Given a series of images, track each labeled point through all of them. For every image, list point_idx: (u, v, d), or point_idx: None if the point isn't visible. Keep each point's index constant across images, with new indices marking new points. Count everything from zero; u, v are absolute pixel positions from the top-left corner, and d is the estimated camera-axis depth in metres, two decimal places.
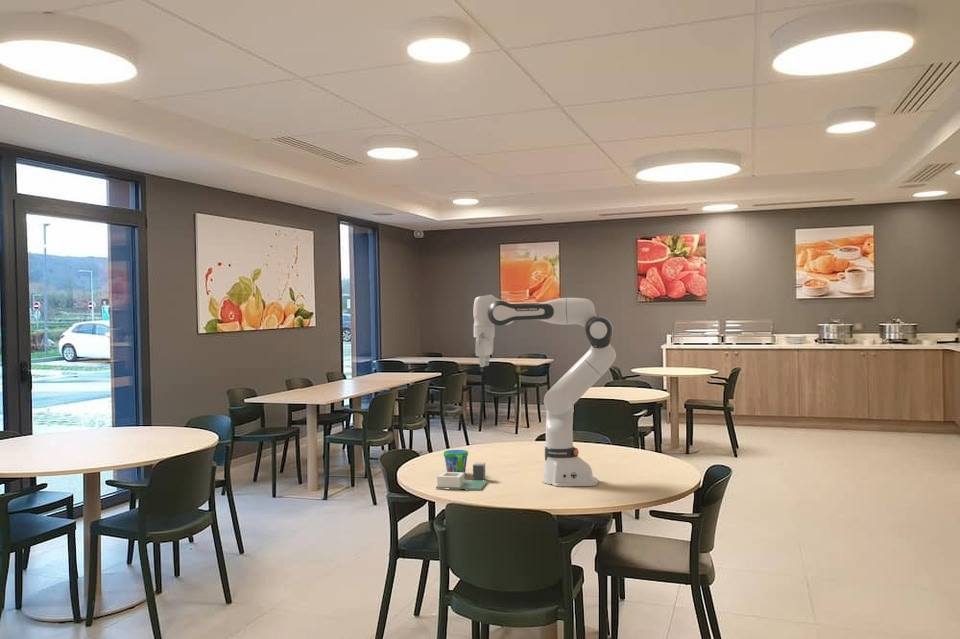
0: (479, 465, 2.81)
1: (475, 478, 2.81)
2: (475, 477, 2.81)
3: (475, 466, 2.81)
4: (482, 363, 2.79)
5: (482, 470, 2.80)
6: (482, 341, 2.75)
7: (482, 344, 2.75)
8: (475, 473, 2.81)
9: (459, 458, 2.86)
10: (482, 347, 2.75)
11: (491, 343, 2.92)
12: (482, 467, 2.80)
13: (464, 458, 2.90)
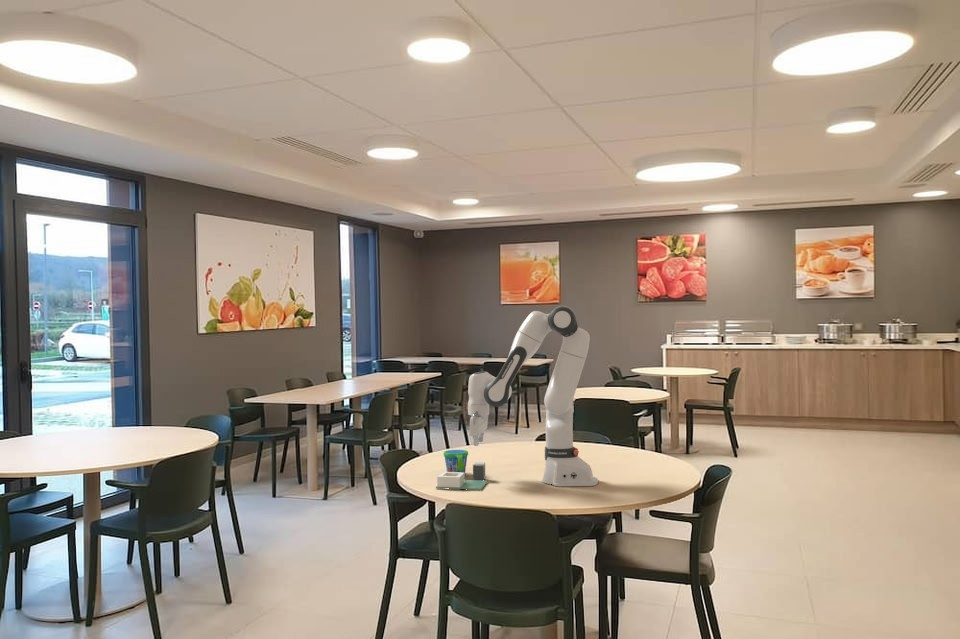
0: (479, 465, 2.81)
1: (475, 478, 2.81)
2: (475, 477, 2.81)
3: (475, 466, 2.81)
4: (476, 442, 2.77)
5: (482, 470, 2.80)
6: (476, 421, 2.74)
7: (476, 424, 2.73)
8: (475, 473, 2.81)
9: (459, 458, 2.86)
10: (476, 427, 2.73)
11: (486, 419, 2.90)
12: (482, 467, 2.80)
13: (464, 458, 2.90)
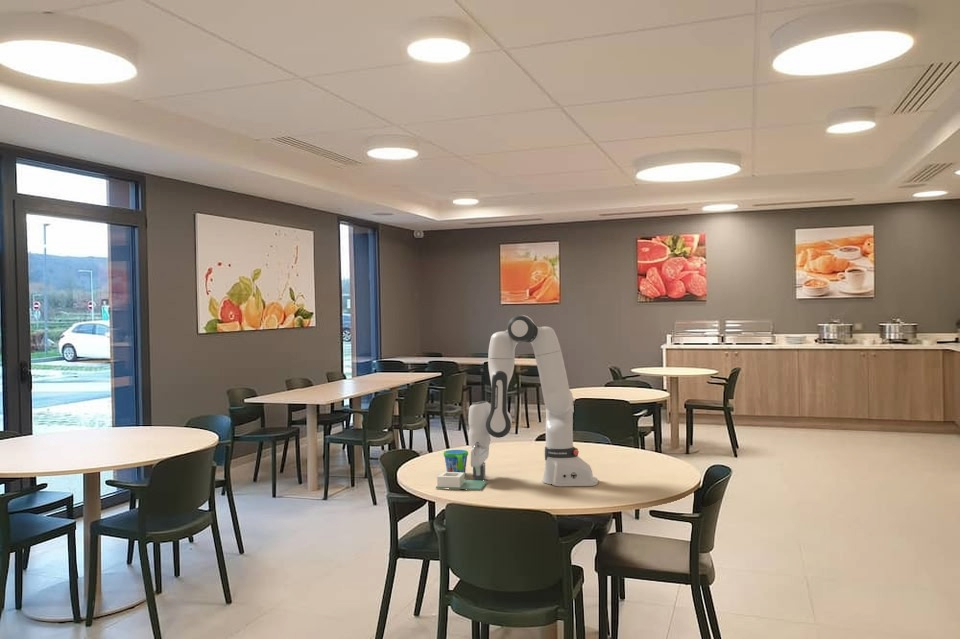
0: None
1: (475, 478, 2.81)
2: (475, 477, 2.81)
3: None
4: (478, 472, 2.79)
5: (482, 470, 2.80)
6: (477, 452, 2.73)
7: (477, 455, 2.73)
8: (475, 473, 2.81)
9: (459, 458, 2.86)
10: (477, 458, 2.73)
11: (486, 448, 2.89)
12: (482, 467, 2.80)
13: (464, 458, 2.90)
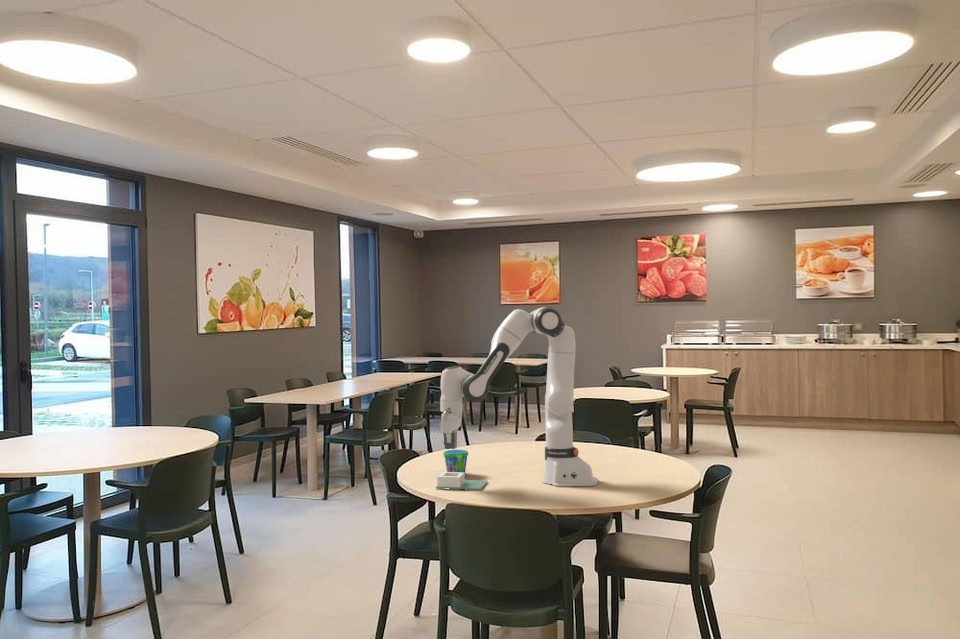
0: None
1: (446, 445, 2.71)
2: (446, 444, 2.71)
3: None
4: (449, 439, 2.69)
5: (453, 437, 2.70)
6: (448, 418, 2.63)
7: (447, 421, 2.63)
8: (446, 440, 2.71)
9: (459, 458, 2.86)
10: (447, 424, 2.63)
11: (459, 415, 2.79)
12: (453, 434, 2.70)
13: (464, 458, 2.90)
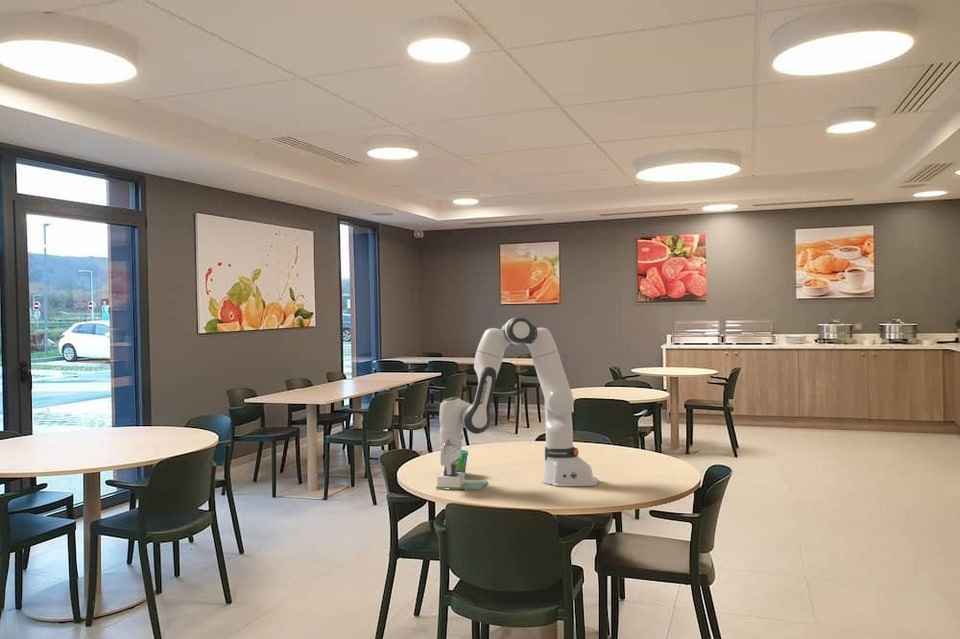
0: (452, 463, 2.70)
1: None
2: (445, 475, 2.70)
3: None
4: (449, 470, 2.68)
5: (454, 469, 2.69)
6: (447, 450, 2.63)
7: (447, 453, 2.62)
8: (446, 471, 2.70)
9: (459, 458, 2.86)
10: (447, 457, 2.62)
11: (459, 446, 2.79)
12: (454, 466, 2.69)
13: (464, 458, 2.90)
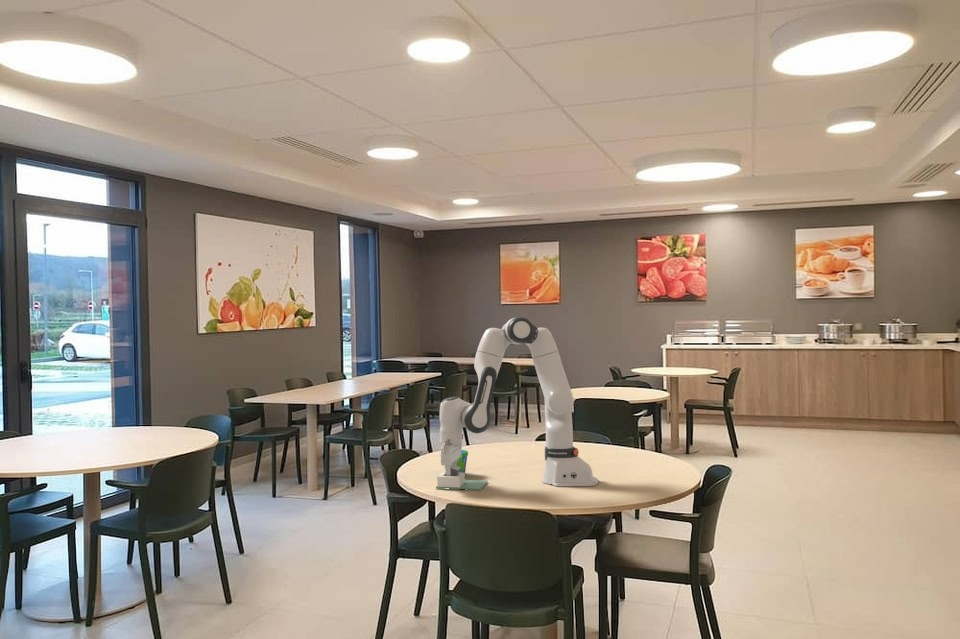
0: (453, 468, 2.70)
1: None
2: None
3: None
4: (448, 471, 2.66)
5: (455, 474, 2.70)
6: (448, 450, 2.62)
7: (447, 453, 2.62)
8: (447, 475, 2.70)
9: (459, 458, 2.86)
10: (447, 456, 2.62)
11: (459, 446, 2.79)
12: (456, 471, 2.70)
13: (464, 458, 2.90)
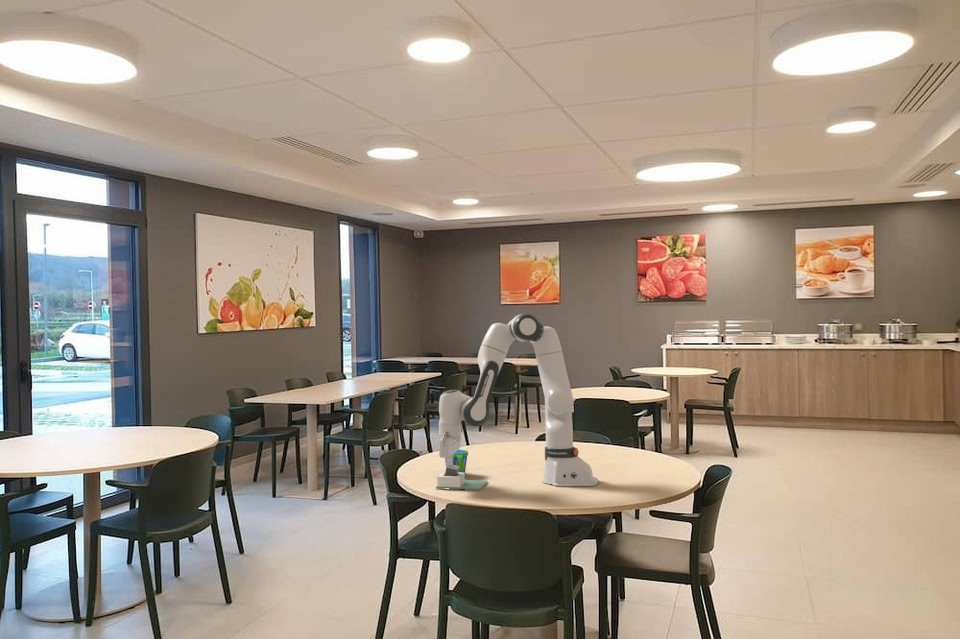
0: (453, 468, 2.70)
1: None
2: None
3: (448, 468, 2.70)
4: (449, 462, 2.70)
5: (454, 474, 2.70)
6: (446, 442, 2.63)
7: (446, 445, 2.62)
8: (447, 475, 2.70)
9: (459, 458, 2.86)
10: (446, 449, 2.62)
11: (458, 439, 2.79)
12: (455, 471, 2.70)
13: (464, 458, 2.90)
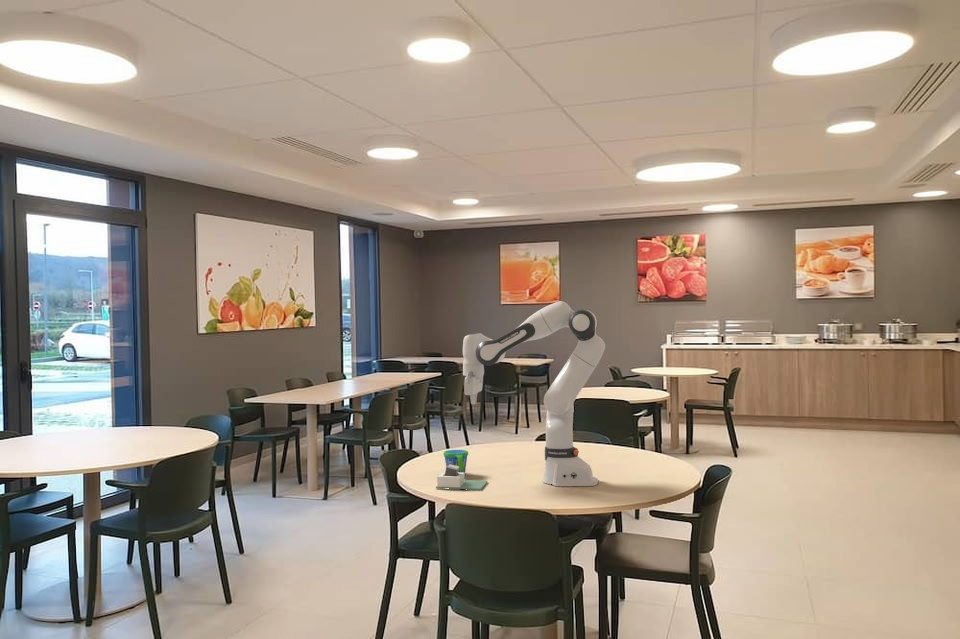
0: (452, 468, 2.70)
1: None
2: None
3: (448, 468, 2.70)
4: (473, 400, 2.86)
5: (454, 474, 2.70)
6: (471, 380, 2.78)
7: (471, 383, 2.78)
8: (447, 475, 2.70)
9: (459, 458, 2.86)
10: (471, 386, 2.78)
11: (480, 380, 2.94)
12: (455, 471, 2.70)
13: (464, 458, 2.90)
